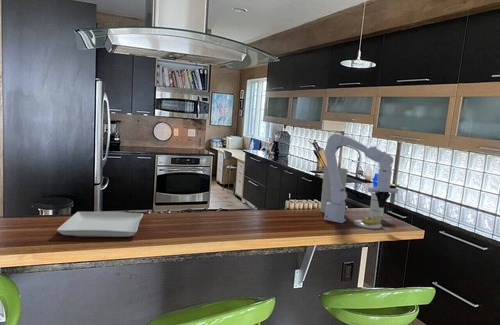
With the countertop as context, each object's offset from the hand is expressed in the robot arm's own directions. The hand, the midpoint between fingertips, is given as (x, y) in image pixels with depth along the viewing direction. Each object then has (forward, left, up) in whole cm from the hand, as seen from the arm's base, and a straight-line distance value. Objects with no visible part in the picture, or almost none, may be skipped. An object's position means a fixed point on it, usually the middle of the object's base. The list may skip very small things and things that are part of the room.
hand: (381, 207), depth 168 cm
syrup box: (-5, +20, -11) cm, 23 cm away
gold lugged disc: (-4, +2, -9) cm, 10 cm away
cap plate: (-6, +2, -10) cm, 12 cm away
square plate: (-91, -84, -11) cm, 124 cm away
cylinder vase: (-28, +16, -11) cm, 34 cm away
